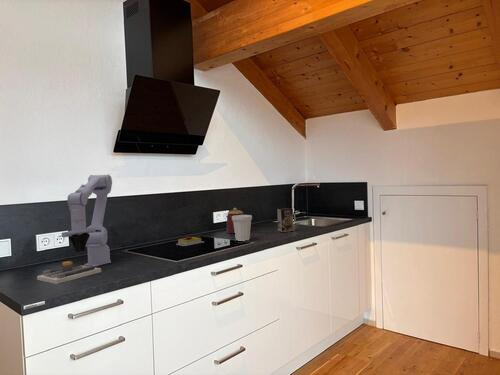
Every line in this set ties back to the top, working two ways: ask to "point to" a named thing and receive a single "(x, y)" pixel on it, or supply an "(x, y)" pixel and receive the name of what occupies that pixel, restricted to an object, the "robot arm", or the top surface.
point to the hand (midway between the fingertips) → (80, 251)
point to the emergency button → (189, 241)
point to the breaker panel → (67, 274)
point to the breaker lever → (67, 266)
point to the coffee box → (285, 219)
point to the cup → (242, 226)
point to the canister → (230, 222)
